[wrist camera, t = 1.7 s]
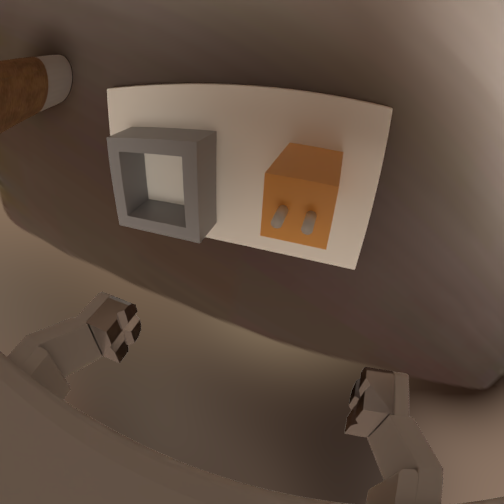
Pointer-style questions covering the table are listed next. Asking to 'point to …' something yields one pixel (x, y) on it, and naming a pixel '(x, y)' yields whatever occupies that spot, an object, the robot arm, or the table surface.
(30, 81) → the coffee cup
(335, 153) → the plug
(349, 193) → the white board with socket
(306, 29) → the table surface
